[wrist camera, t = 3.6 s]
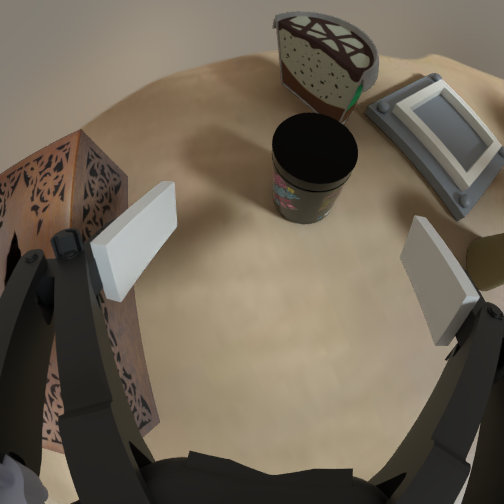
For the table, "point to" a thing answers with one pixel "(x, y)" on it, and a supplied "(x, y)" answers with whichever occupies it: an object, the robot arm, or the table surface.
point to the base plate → (441, 140)
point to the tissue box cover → (88, 223)
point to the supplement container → (310, 165)
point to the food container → (325, 61)
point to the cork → (486, 262)
